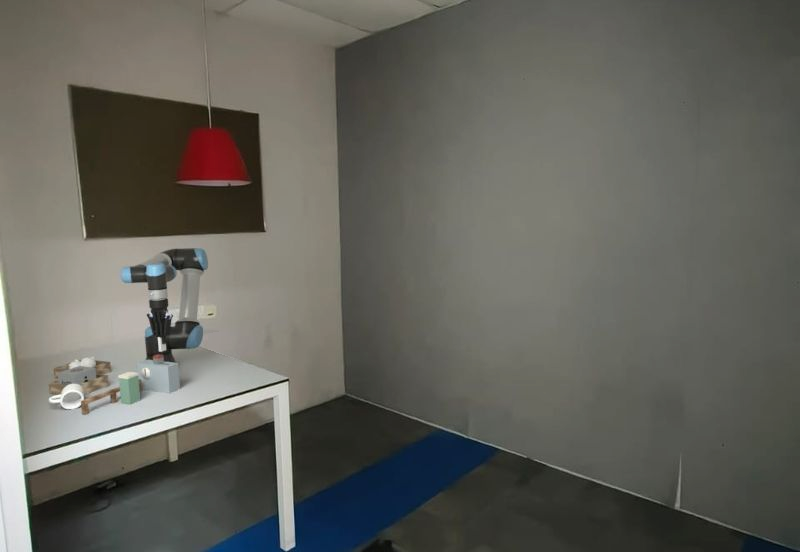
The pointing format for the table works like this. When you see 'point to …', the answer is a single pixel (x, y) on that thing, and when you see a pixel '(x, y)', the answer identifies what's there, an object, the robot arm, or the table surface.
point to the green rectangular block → (129, 388)
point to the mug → (69, 396)
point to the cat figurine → (83, 363)
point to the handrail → (112, 396)
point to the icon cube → (77, 375)
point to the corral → (88, 386)
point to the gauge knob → (158, 359)
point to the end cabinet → (159, 376)
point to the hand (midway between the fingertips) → (162, 350)
